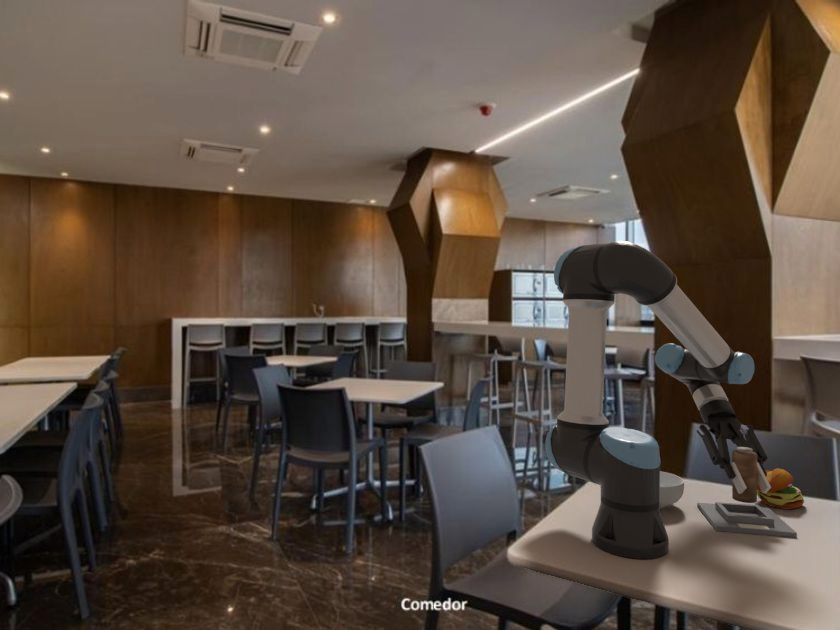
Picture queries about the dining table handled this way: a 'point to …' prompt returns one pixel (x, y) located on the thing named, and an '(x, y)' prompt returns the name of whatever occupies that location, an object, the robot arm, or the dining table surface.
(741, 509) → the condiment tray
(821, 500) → the dining table surface
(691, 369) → the robot arm
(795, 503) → the cheeseburger
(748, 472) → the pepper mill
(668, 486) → the cereal bowl
